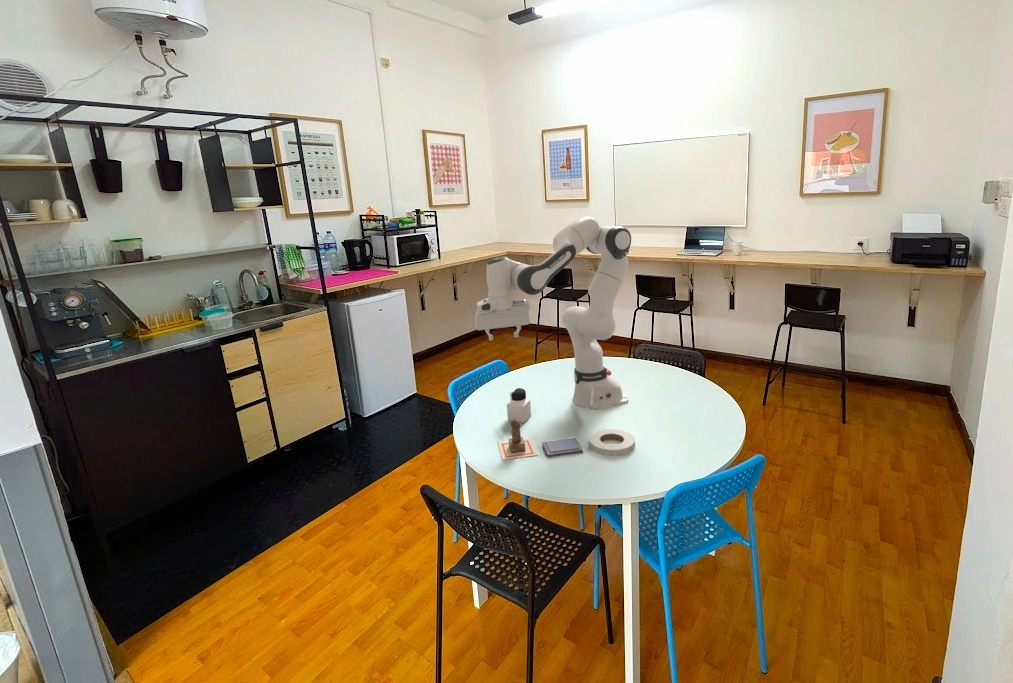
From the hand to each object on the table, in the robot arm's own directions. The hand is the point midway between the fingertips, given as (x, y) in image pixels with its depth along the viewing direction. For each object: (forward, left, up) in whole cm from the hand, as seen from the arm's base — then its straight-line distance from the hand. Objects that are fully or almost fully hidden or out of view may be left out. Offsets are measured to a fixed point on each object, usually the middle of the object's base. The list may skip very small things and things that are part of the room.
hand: (503, 338), depth 190 cm
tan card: (+1, +23, -33) cm, 41 cm away
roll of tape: (-31, +29, -34) cm, 54 cm away
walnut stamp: (+1, +23, -33) cm, 41 cm away
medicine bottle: (-4, -1, -34) cm, 34 cm away
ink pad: (-14, +27, -33) cm, 45 cm away
